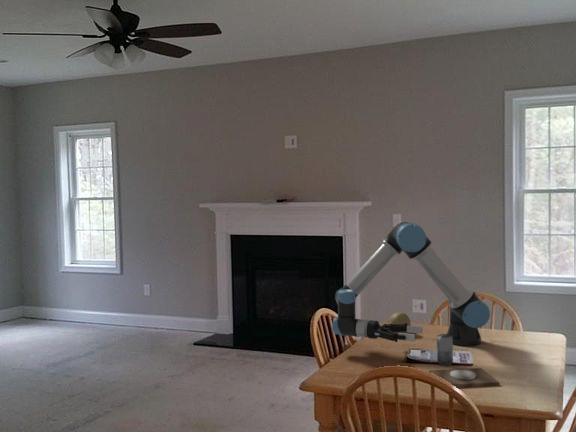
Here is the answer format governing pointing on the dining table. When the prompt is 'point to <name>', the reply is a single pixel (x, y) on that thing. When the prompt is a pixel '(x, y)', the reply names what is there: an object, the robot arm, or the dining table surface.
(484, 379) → the brown flat slab
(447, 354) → the grey metallic can
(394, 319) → the olive green rounded lump
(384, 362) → the dining table surface
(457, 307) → the robot arm
